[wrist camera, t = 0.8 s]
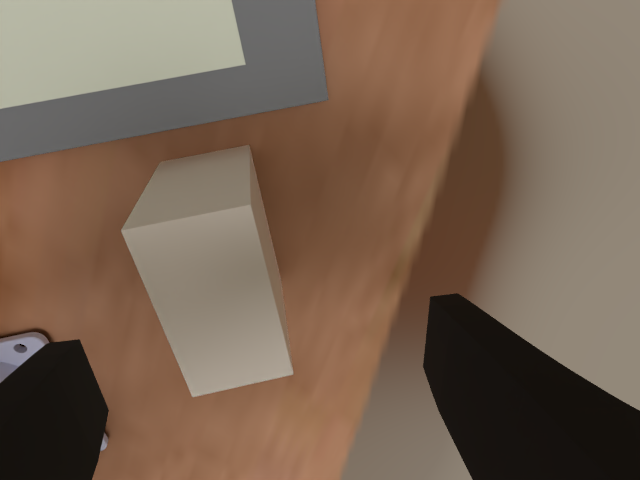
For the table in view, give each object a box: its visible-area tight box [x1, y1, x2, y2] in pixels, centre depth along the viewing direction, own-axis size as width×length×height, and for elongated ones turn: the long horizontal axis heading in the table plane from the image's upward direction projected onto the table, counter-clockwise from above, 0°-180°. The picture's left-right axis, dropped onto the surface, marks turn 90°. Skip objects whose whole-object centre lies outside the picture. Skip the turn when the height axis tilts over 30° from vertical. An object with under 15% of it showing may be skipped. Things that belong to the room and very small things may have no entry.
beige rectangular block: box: [121, 145, 293, 397], centre depth 16 cm, size 4×6×6 cm, turn 9°
